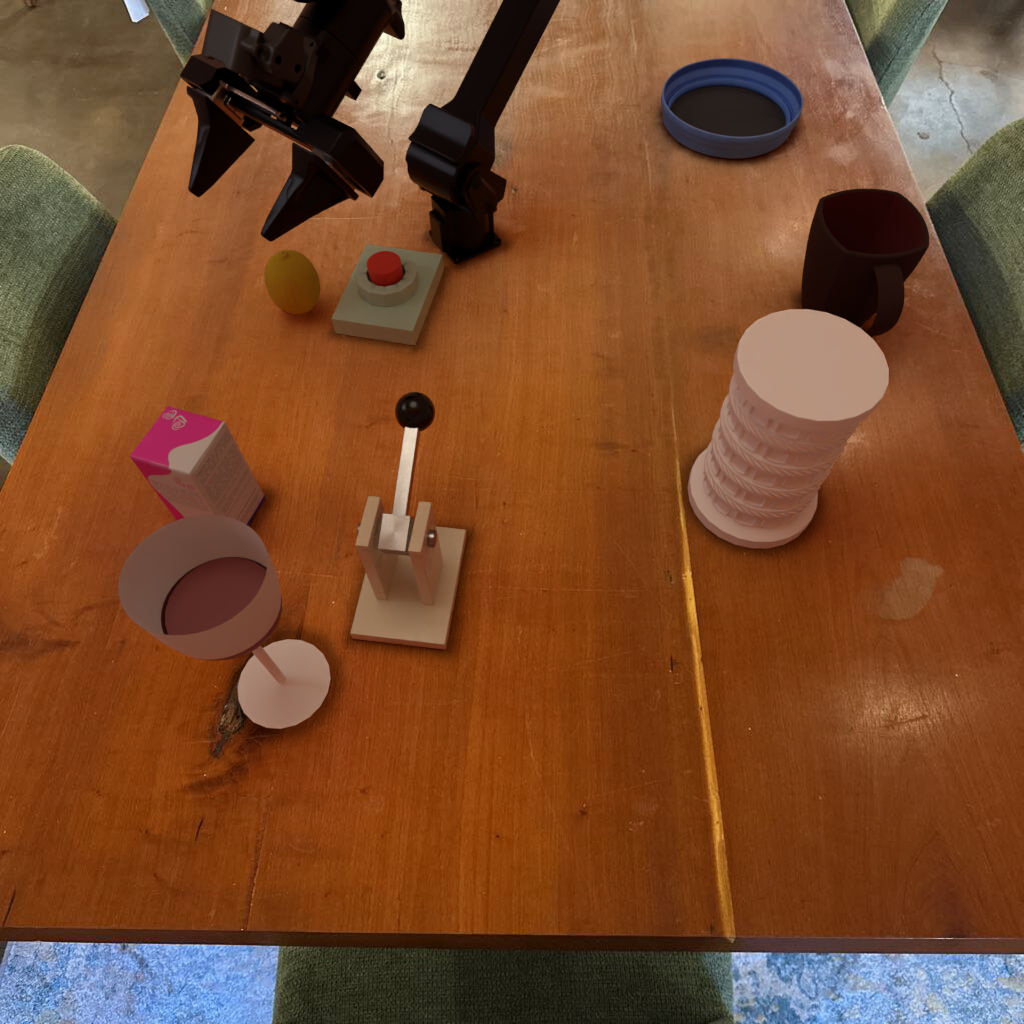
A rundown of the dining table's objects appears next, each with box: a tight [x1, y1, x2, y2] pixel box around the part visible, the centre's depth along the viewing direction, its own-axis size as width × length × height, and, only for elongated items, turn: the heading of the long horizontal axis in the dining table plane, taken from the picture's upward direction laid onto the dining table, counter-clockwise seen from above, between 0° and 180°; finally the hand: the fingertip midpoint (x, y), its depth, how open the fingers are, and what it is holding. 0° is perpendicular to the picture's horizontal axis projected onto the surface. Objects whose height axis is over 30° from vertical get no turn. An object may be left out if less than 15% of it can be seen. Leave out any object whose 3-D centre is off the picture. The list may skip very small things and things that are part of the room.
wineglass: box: [117, 515, 332, 730], centre depth 54 cm, size 8×9×20 cm
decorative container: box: [686, 308, 890, 549], centre depth 63 cm, size 12×12×18 cm
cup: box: [800, 188, 930, 338], centre depth 77 cm, size 10×14×12 cm
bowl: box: [660, 57, 804, 159], centre depth 100 cm, size 18×18×4 cm
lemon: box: [264, 249, 322, 315], centre depth 81 cm, size 6×6×8 cm
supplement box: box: [129, 405, 266, 527], centre depth 66 cm, size 6×6×12 cm
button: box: [367, 251, 403, 287], centre depth 81 cm, size 4×4×2 cm
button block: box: [330, 243, 445, 347], centre depth 83 cm, size 12×9×4 cm
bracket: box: [349, 495, 468, 650], centre depth 62 cm, size 11×8×11 cm
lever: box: [377, 391, 436, 556], centre depth 60 cm, size 13×3×3 cm, turn 173°
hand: (228, 215), depth 62 cm, fingers open, 9 cm apart
